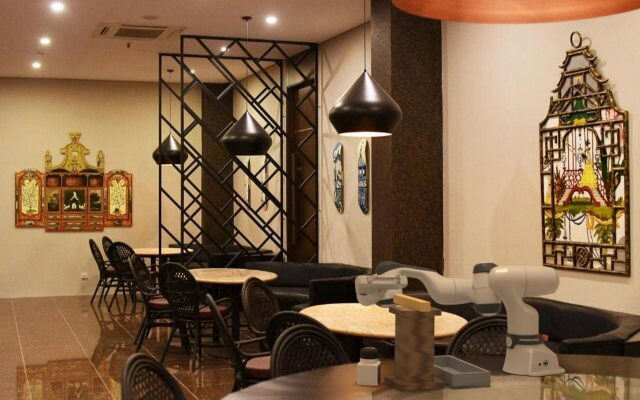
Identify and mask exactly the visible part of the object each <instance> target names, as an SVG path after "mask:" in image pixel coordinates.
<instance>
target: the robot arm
mask: <svg viewBox="0 0 640 400" xmlns="http://www.w3.org/2000/svg"><path fill="white" fill-rule="evenodd" d="M374 272H375V274H372V275H358V276H357V277H355V280H354V285H355V286H354V287H355V293H356V298H357V299H356V300H357V301H358V303H359V304H360V305H361V306H363V307H370V306H374V305H376V306H377V307H379V308H383V309H389V306H399V304H396V303H393V298H394V294H403V289H404V288H406V287H407V286H408V278H413V279H418V280H419V281H420V282H421V283H422V284H423V285H424V287H425V288H426V290H427V292H428V294H429V296H430V297H431V299H432V300H433V301H434V302H435V303H437V304H439V305H444V306H445V305H446V306H447V305H448V306H449V305H461V304H463V305H464V304H468V303H473V304H472V305H471V304H470V307H471V308H473V309H474V311H475V312H476V313H477V314H479V315H480V316H481V315H482V316H484V317H492V316H495V315H497V314H499V313H500V312H501V311H502V305H504V308H505V310H506V317H507V318H506V322H507V331H506V334H505V337H506V338H505V342H506V343H505V345H506V353H505V358H504V364H503V366H502V367H503V368H502V371H503V372H506V373H509V374H513V375H519V376H520V375H521V376H529V377H544V376H550V375H558V374H559V375H560V374H565V373H566V370H565V368H563V367H561V366H560V364H559V359H558V356H557V354H556V353H555V352H553V350H551V349H550V348H549V347H548V346H546V345H545V344H544V343H543V341H546V342H547V341H548V339H549V336H548V334H547V335H546V334H541V333H539V317H540V316H539V312H538V311H537V309H536V308H534V307H533V306H531V305H530V304H527V303H525V302H524V301H523V298H530V297H531V298H533V297H540V296H541V297H542V296H548V295H553V294H555V293H556V292H557V290H558V289H559V286H560V277H559V274H558V272H557V270H556V269H554V267H549V266H544V265H527V264H526V265H525V264H524V265H523V264H522V265H519V264H518V265H517V264H516V265H515V264H511V265H510V264H509V265H508V264H505V265H497V264H496V263H494V262H491V261H485V260H484V261H481V262H479V263H476V264H475V265H474V266H473V268H472V278H473V279H468V278H461V277H447V276H443V275H441V274H440V273H438V272H437V271H436V270H435V269H431V268H427V267H421V266H416V265H409V264H402V263H400V262H395V261H391V260H388V261H387V260H386V261H381V262H379V264H378V265H377V266H376V268H375V270H374ZM502 303H503V304H502Z"/></svg>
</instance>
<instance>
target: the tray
mask: <svg viewBox="0 0 640 400" xmlns="http://www.w3.org/2000/svg"><path fill="white" fill-rule="evenodd" d="M491 374H492V372H491V371H489V370H487V369H485V368H482V367H480V366H477V365H474V364H473V363H469V362H468V361H465V360H463V359H460V358H457V357H455V356H453V355H434V377H435V378H437V379H439V380H441V381H443V382H445V387H448V388H449V389H452V390H461V389H474V388H475V389H476V388H490V387H491V385H492V384H491V382H492V381H491V378H492V376H491Z"/></svg>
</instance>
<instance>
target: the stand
mask: <svg viewBox="0 0 640 400" xmlns="http://www.w3.org/2000/svg"><path fill="white" fill-rule="evenodd" d="M388 313H390V314H393V315H395V316H394V319H395V320H394V322H395V324H394V375H384V377H383V378H384V379H383V382H384V383H385V382H386V383H385V384H387V385H389V386H391V387H392V386H393V387H392V388H394V387H395V388H394V389H396V388H397V389H396V390H398V391H399V390H400V391H399V392H407V391H408V392H409V391H422V390H423V391H424V390H438V389H440V390H441V389H446V388H445V387H446V386H445V382H443V381H441V380H439V379H437V378H435V377H434V356H435V325H436V324H435V320H436V319H435V317H440V316H442V309H440V308H437V307H433V306H430V311H429V312H421V311H418V310H415V309H412V308H409V307H405V306H402V305H397V306H389V308H388Z"/></svg>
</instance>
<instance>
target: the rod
mask: <svg viewBox="0 0 640 400" xmlns="http://www.w3.org/2000/svg"><path fill="white" fill-rule="evenodd" d="M393 303H396V304H398V306H405V307H409V308H412V309H415V310H418V311H421V312H429V311H430V307H431V301H427V300H424V299H419V298H416V297H413V296H411V295H410V296H409V295H405V294H404V293H402V294H394V298H393Z"/></svg>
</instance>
